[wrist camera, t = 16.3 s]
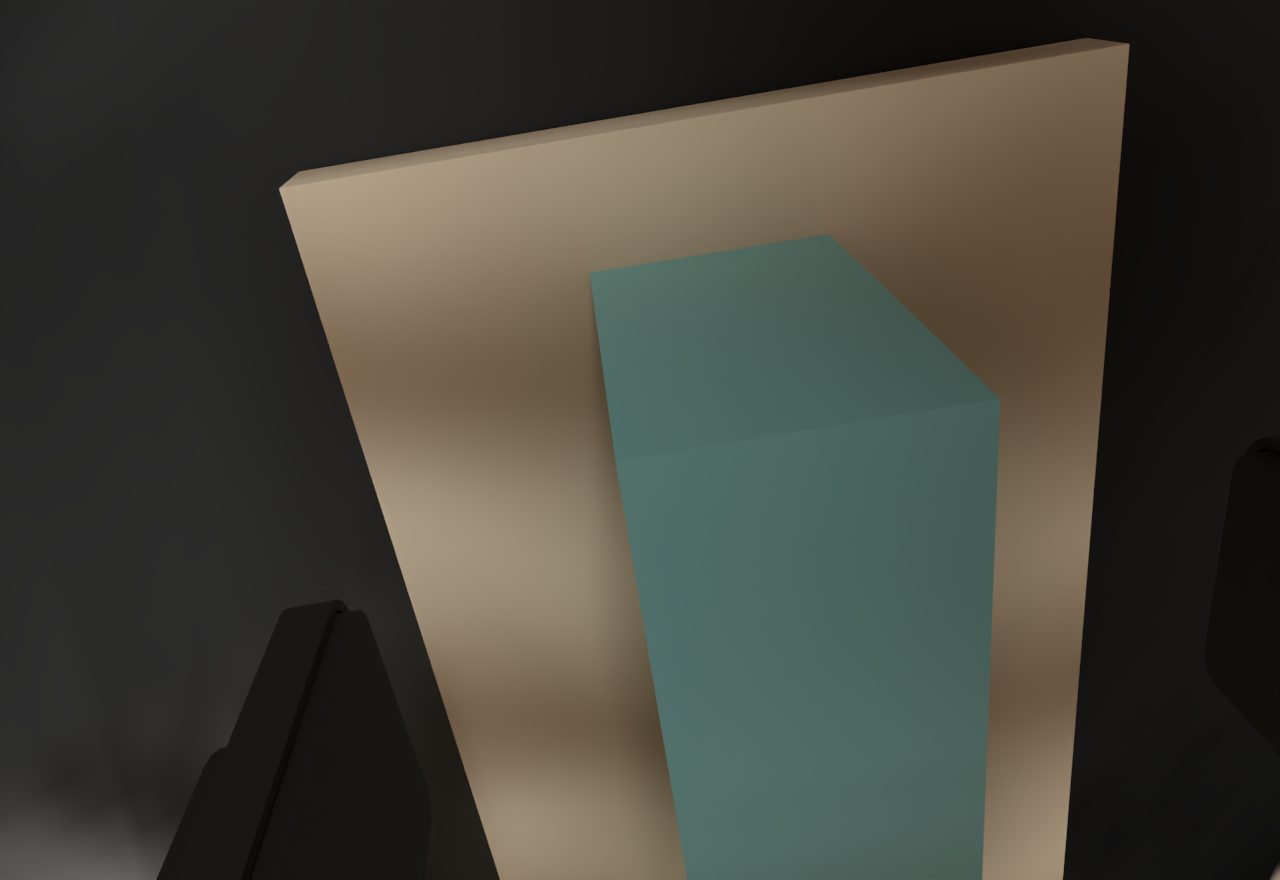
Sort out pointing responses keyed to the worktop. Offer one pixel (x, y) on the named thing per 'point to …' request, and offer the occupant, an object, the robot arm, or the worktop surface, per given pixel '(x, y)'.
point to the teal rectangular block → (806, 561)
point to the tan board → (580, 424)
